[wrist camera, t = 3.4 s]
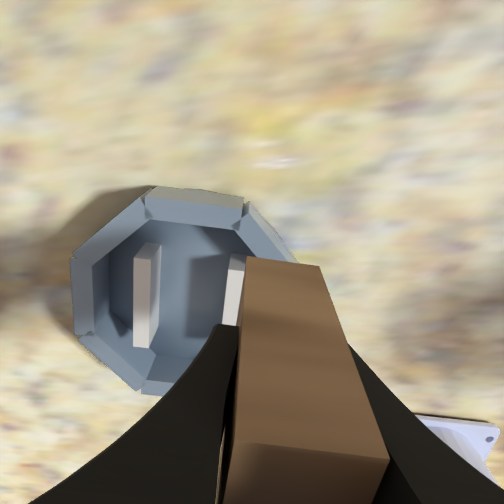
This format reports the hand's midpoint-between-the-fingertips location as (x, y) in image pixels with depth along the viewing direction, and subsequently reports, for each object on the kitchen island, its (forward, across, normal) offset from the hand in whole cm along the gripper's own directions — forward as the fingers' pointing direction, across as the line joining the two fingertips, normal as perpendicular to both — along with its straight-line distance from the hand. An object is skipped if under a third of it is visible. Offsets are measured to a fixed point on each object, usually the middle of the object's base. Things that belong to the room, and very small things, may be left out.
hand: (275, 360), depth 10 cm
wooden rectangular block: (+2, 0, 0) cm, 2 cm away
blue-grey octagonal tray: (+9, +4, +3) cm, 11 cm away
